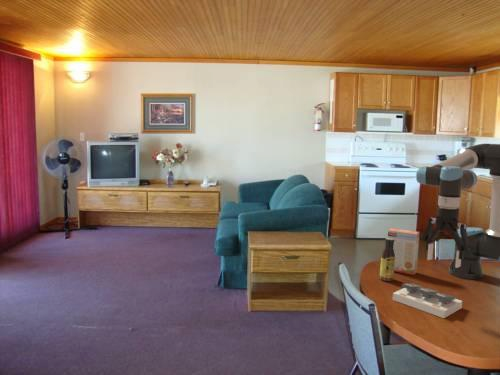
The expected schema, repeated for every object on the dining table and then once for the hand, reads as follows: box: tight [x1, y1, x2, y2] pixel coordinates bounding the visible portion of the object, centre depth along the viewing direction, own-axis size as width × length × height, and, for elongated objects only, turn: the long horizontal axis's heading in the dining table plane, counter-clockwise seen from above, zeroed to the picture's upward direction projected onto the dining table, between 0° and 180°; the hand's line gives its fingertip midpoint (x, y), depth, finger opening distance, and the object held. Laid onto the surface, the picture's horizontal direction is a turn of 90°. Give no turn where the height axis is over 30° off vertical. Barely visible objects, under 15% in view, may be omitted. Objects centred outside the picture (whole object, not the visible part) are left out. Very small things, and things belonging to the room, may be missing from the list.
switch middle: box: [417, 287, 439, 295], centre depth 179 cm, size 9×4×2 cm, turn 131°
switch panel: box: [392, 287, 463, 319], centre depth 179 cm, size 15×22×4 cm
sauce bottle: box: [379, 237, 395, 282], centre depth 205 cm, size 6×6×20 cm
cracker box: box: [387, 227, 420, 276], centre depth 216 cm, size 14×6×21 cm, turn 58°
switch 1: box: [401, 282, 423, 290], centre depth 184 cm, size 9×4×2 cm, turn 131°
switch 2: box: [434, 293, 456, 301], centre depth 173 cm, size 9×4×2 cm, turn 131°
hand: (443, 263), depth 169 cm, fingers open, 10 cm apart
